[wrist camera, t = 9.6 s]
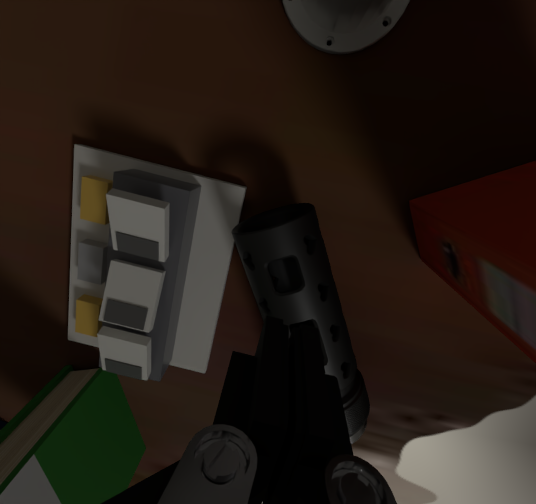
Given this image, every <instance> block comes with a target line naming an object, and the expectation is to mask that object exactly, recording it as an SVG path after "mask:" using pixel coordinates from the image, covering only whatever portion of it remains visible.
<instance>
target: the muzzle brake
mask: <svg viewBox="0 0 536 504" xmlns="http://www.w3.org/2000/svg"><path fill="white" fill-rule="evenodd" d="M231 233H232V236H233V238H234V241H235V244H236V247H237V249H238V252H239V255H240V258H241V261H242V263H243V266H244V269H245V272H246V274H247V277H248V280H249V283H250V286H251V288H252V291H253V294H254V297H255V299H256V302H257V305H258V308H259V310H260V313H261V316H262V319H263V322H264V321H265V318H266V315H267V316H271V317H275V318H279V319H283V324H284V325H288V326H289V338H290V335H291V331H292V329H293V327H296V328H299V326H300V325H301V324H303V325H307V326H311V327H315V328H318V330H319V336H320V342H321V348H322V355H323V361H324V368H325V374H328V375H332V376H335V377H336V378H337V379H338V383H339V388H340V393H341V397H342V402H343V407H344V412H345V417H346V422H347V427H348V432H349V436H350V441H351V444H353V443H354V442H355V441H357V440H358V439H359V438H360V437H361V436H362V434H363V432H364V431H365V428H366V425H367V418H368V415H369V410H370V403H369V398H368V394H367V390H366V387H365V383H364V379H363V377H362V375H361V373H360V371H359V370H358V369H357V363H356V359H355V355H354V353H353V350H352V346H351V340H350V337H349V333H348V329H347V326H346V322H345V319H344V316H343V313H342V308H341V303H340V300H339V296H338V292H337V289H336V285H335V282H334V279H333V276H332V272H331V266H330V263H329V259H328V255H327V252H326V248H325V244H324V241H323V238H322V235H321V231H320V228H319V223H318V218H317V215H316V211H315V207H314V205H312V204H309V203H299V204H292V205H287V206H283V207H279V208H276V209H273V210H269V211H266V212H263V213H260V214H258V215H255V216H253V217H251V218H248V219H246V220H244V221H242V222H241V223H239V224H238V225H236V226H235V227H234V228H233V229H232V232H231ZM271 275H272V276H273V277H275V280H274V282H273V279H272V276H271Z"/></svg>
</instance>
